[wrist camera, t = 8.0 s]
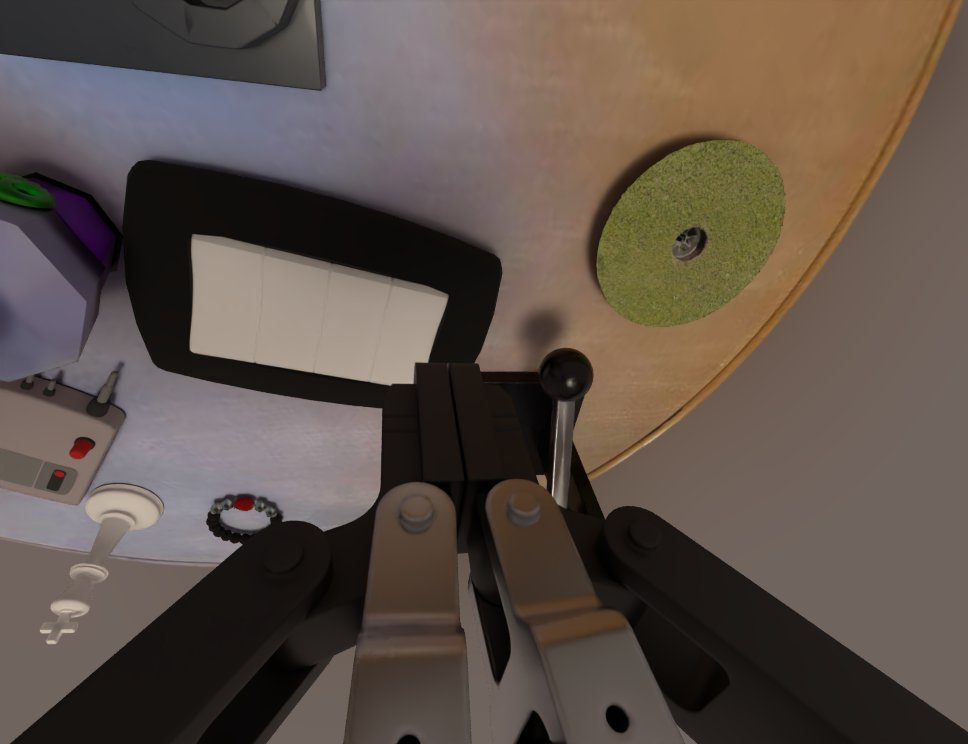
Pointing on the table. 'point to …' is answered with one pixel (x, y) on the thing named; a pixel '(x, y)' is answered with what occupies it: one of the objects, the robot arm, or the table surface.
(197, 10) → the control box
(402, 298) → the light switch
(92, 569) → the chess piece
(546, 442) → the switch bracket
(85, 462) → the grey electronic device
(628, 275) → the mat
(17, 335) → the potion bottle
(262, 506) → the bracelet
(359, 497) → the table surface
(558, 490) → the switch lever
